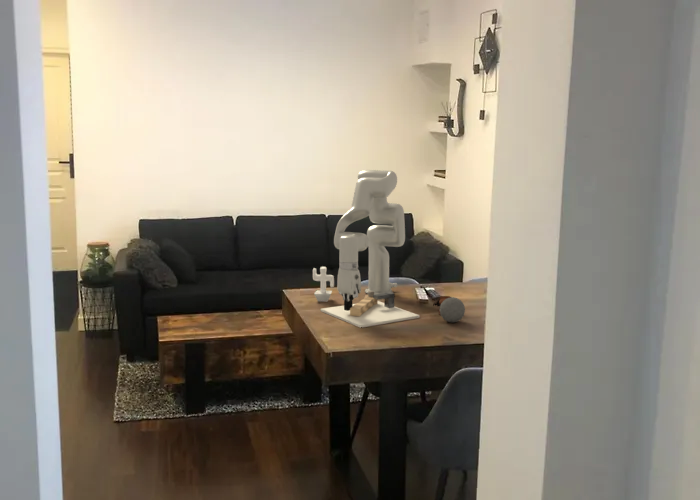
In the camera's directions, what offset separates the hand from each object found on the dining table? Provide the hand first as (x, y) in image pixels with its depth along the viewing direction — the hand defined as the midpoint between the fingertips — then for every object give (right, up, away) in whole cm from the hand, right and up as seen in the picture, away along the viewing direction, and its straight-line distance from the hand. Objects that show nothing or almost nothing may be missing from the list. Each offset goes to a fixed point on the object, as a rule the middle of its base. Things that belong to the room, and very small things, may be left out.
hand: (348, 309), depth 309 cm
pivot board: (+9, -2, +4) cm, 10 cm away
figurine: (-11, +2, +27) cm, 30 cm away
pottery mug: (+41, -2, +7) cm, 42 cm away
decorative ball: (+41, -5, -7) cm, 42 cm away
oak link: (+7, 0, +8) cm, 10 cm away
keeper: (+15, 0, +11) cm, 19 cm away
